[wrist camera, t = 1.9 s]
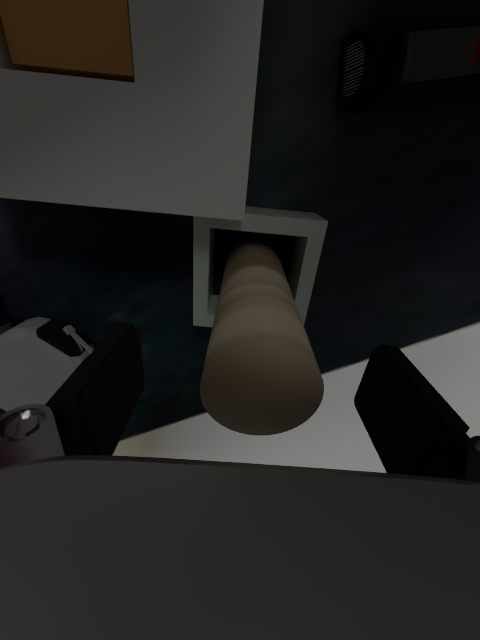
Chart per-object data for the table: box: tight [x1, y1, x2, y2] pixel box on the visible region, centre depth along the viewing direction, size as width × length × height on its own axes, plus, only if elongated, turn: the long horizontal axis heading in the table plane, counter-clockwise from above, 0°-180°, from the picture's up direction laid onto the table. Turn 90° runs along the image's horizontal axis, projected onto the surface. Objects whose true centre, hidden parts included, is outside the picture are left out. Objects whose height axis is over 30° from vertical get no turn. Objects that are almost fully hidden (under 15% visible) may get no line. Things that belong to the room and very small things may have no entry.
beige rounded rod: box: [200, 236, 324, 435], centre depth 15 cm, size 4×4×14 cm
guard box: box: [0, 0, 264, 221], centre depth 12 cm, size 16×16×6 cm
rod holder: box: [193, 206, 328, 327], centre depth 19 cm, size 8×8×4 cm
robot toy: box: [0, 311, 95, 412], centre depth 23 cm, size 12×4×15 cm
